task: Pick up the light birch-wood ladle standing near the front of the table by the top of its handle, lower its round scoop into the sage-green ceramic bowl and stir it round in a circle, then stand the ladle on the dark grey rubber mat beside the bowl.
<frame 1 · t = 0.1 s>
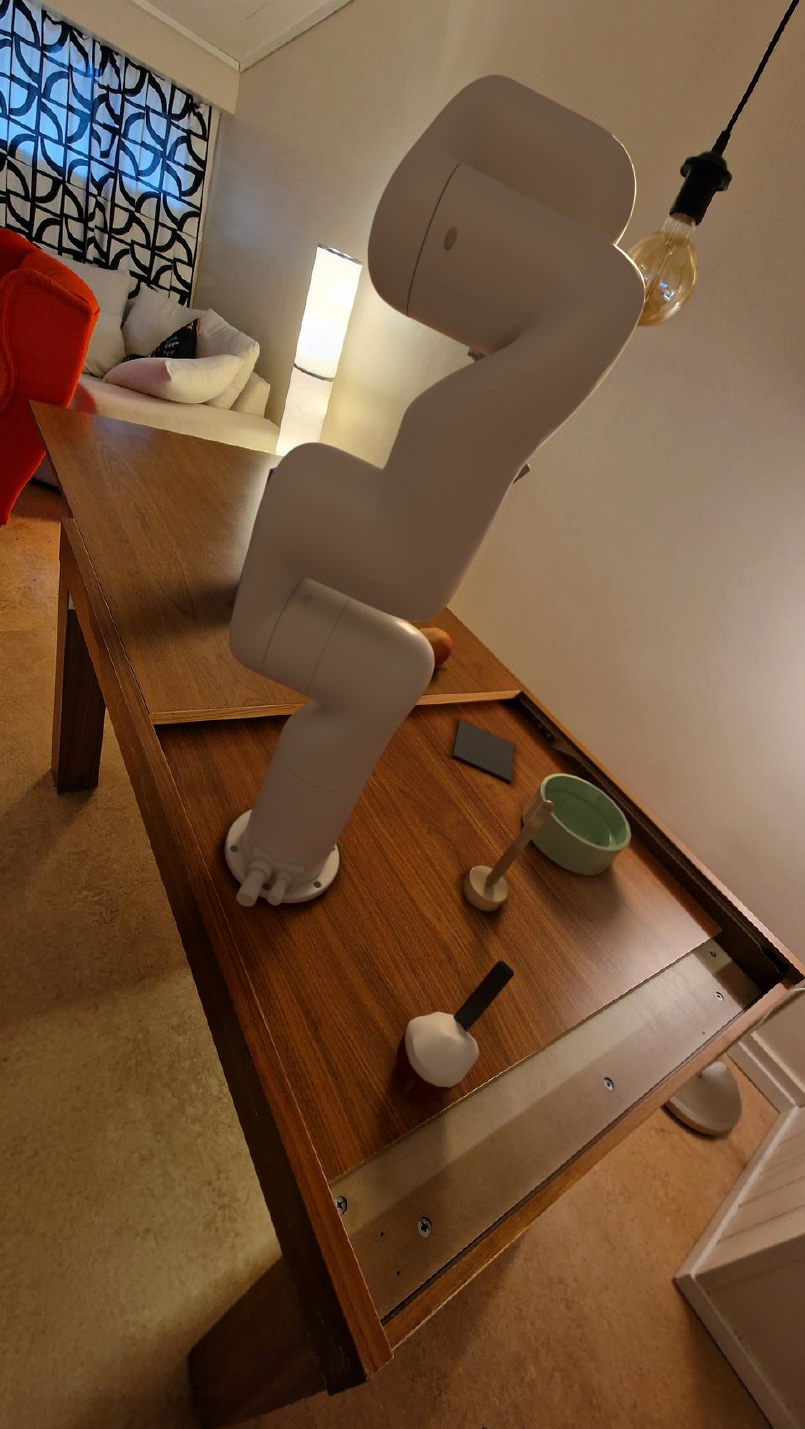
hand: (448, 497, 89), 31 cm above the table, tool pointing down, fingers open, 9 cm apart
cereal box: (269, 597, 112), on the table
mat: (483, 751, 100), on the table
fruit: (422, 662, 115), on the table
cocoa: (422, 1068, 57), on the table
bowl: (563, 836, 91), on the table
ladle: (481, 892, 76), on the table
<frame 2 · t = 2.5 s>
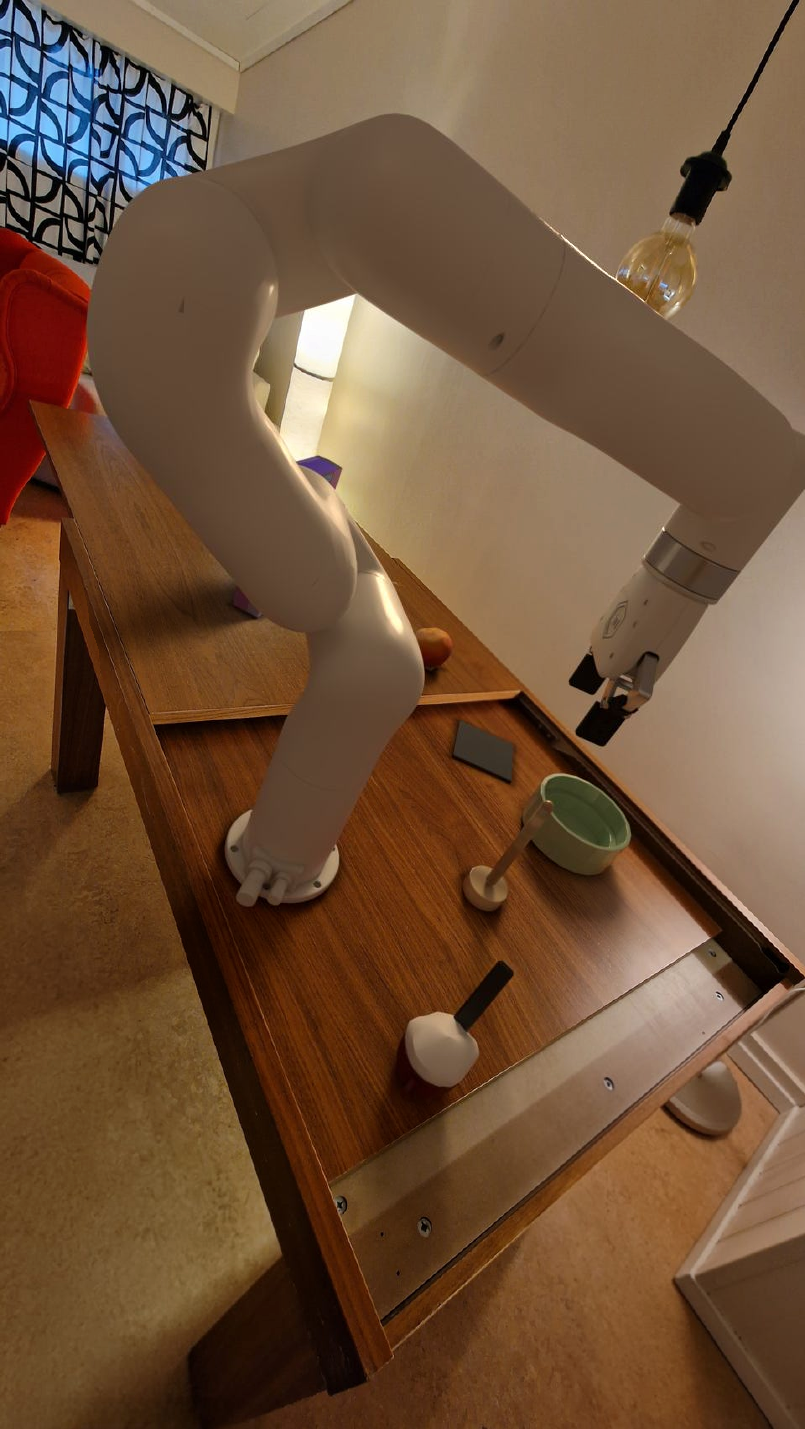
hand: (584, 712, 64), 27 cm above the table, tool pointing down, fingers open, 9 cm apart
nothing on the table moved.
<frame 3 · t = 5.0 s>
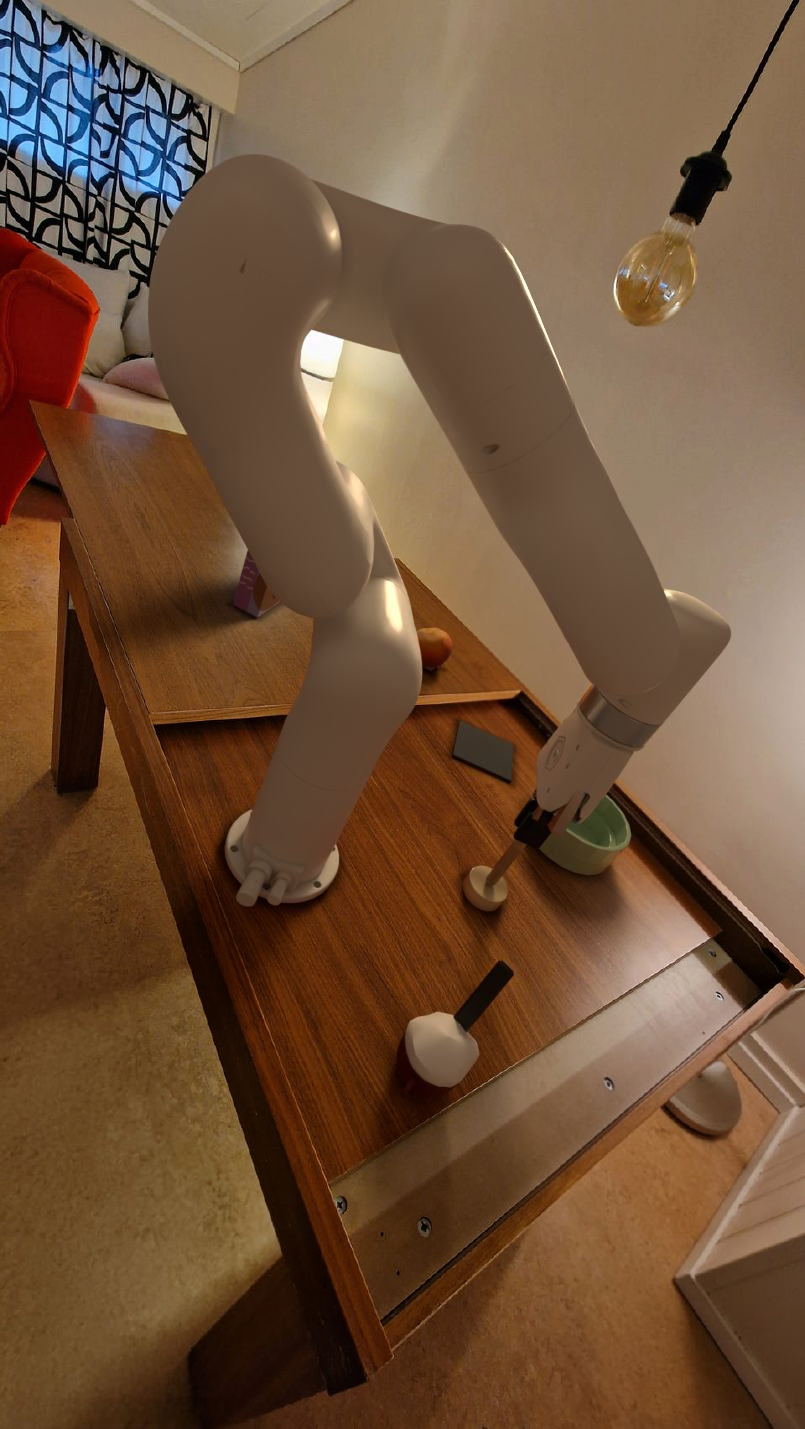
hand: (525, 834, 70), 11 cm above the table, tool pointing down, fingers closed on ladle
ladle: (481, 892, 76), on the table, touching gripper
everything else where it was.
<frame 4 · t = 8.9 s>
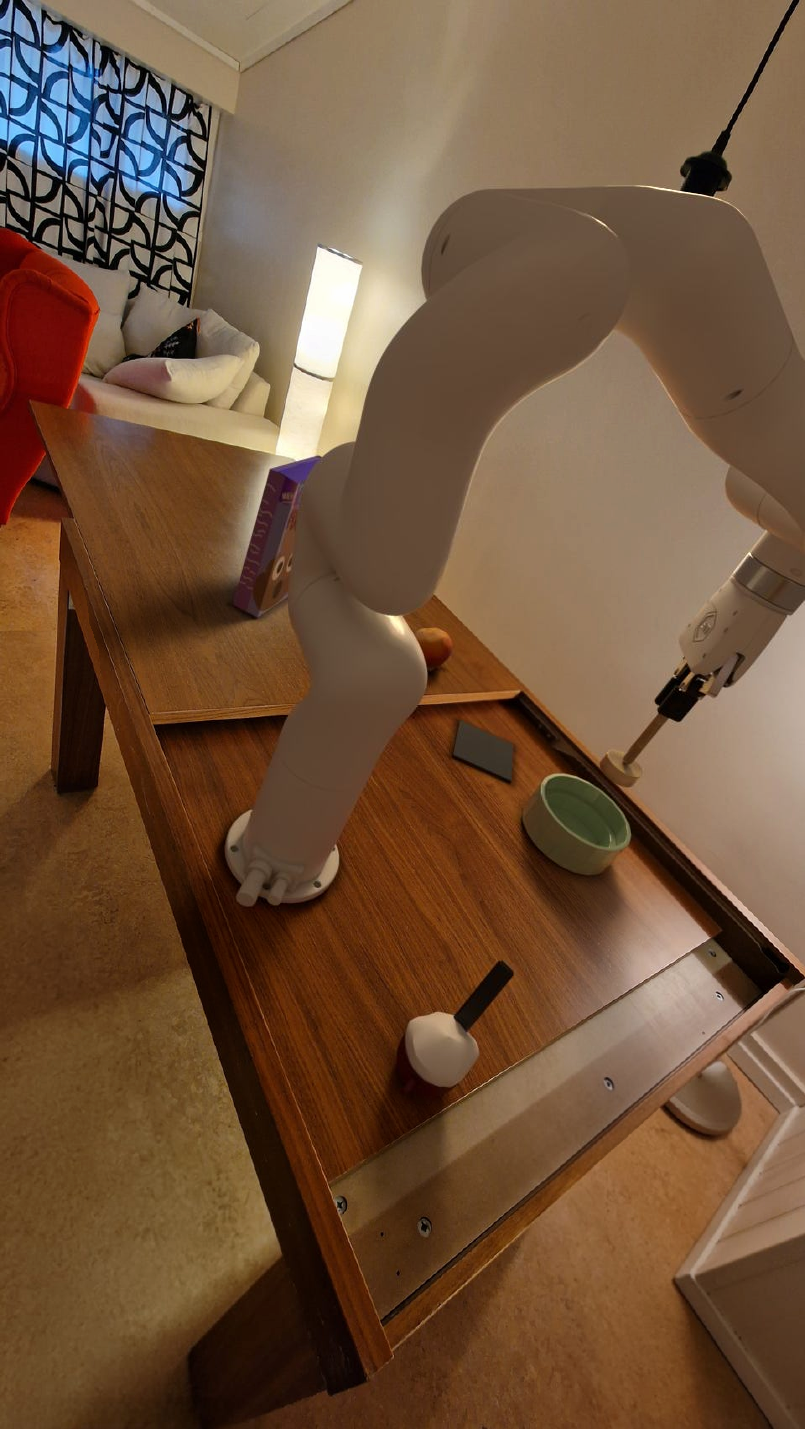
hand: (666, 711, 77), 25 cm above the table, tool pointing down, fingers closed on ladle
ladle: (616, 773, 84), point 14 cm above the table, touching gripper
everything else where it was.
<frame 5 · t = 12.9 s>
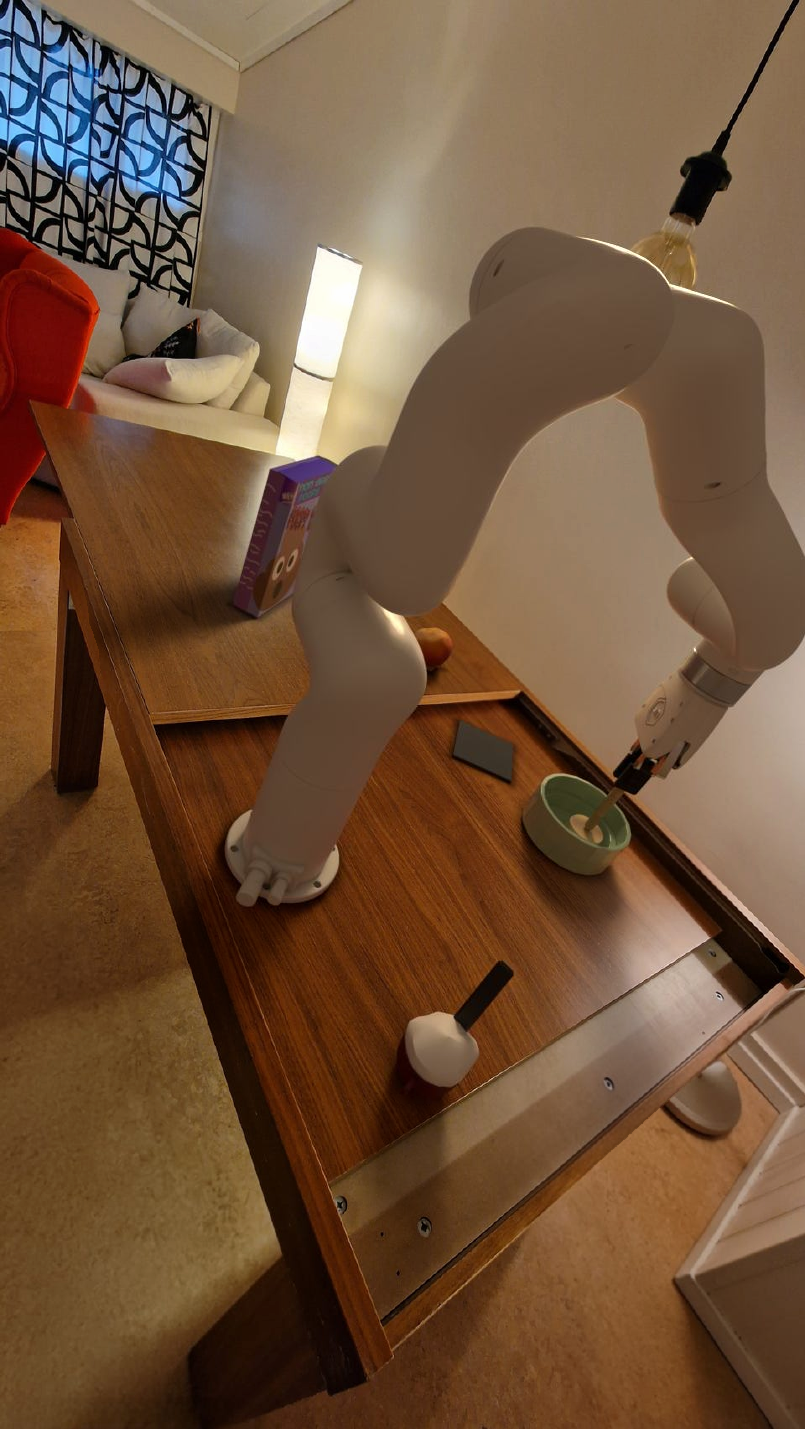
hand: (623, 784, 83), 13 cm above the table, tool pointing down, fingers closed on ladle
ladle: (579, 837, 89), point 2 cm above the table, touching gripper
everything else where it was.
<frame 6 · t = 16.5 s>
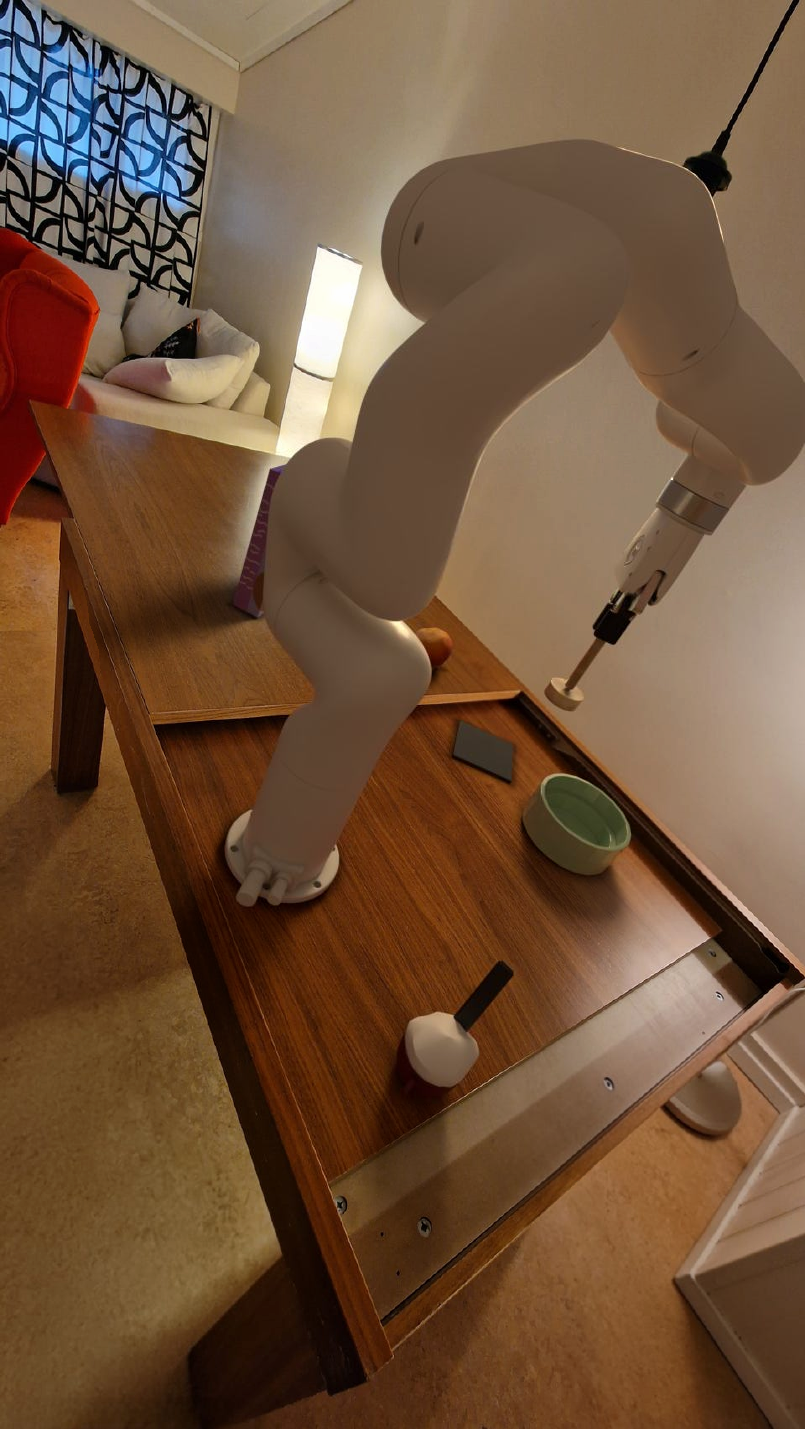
hand: (603, 635, 83), 27 cm above the table, tool pointing down, fingers closed on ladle
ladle: (560, 699, 89), point 16 cm above the table, touching gripper
everything else where it was.
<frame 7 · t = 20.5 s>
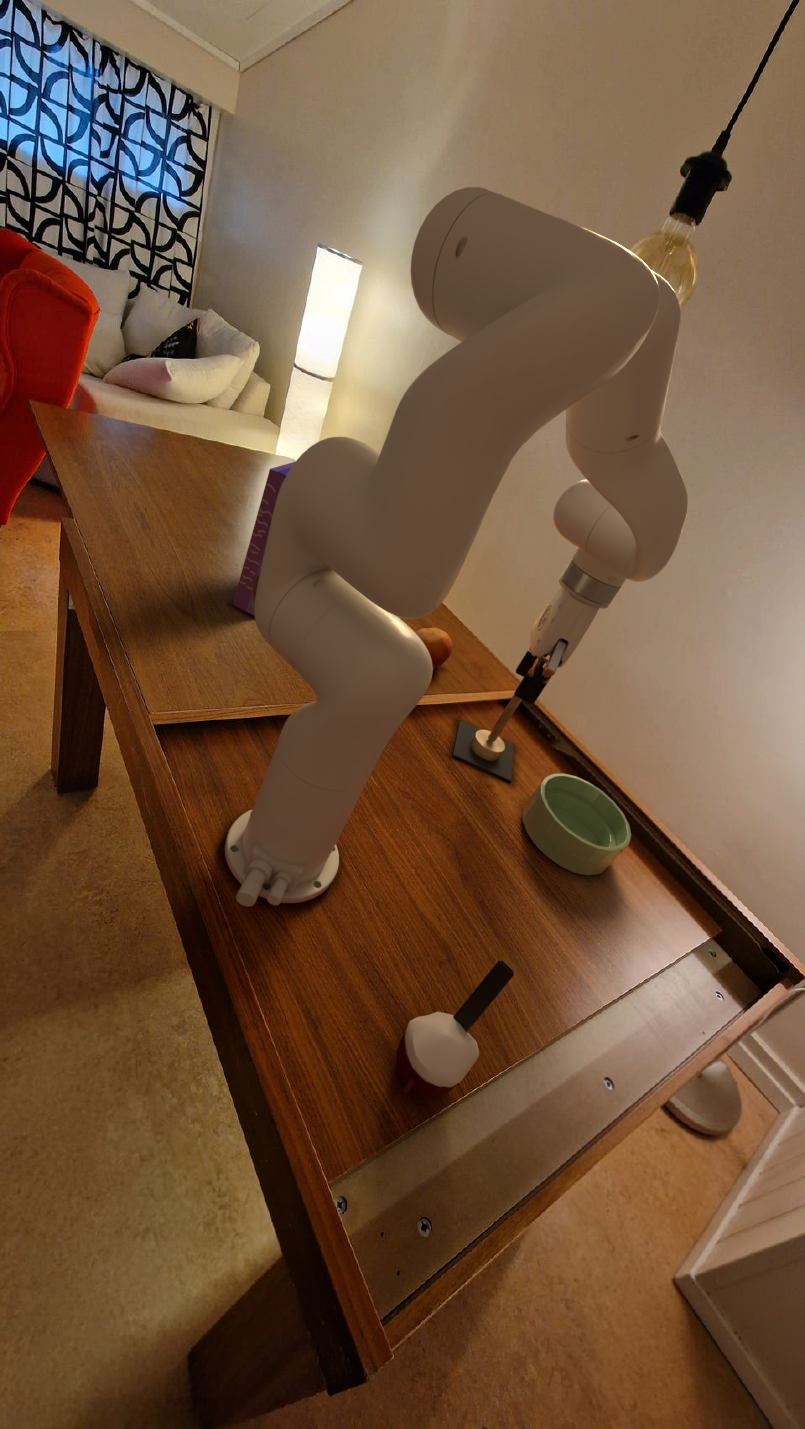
hand: (524, 686, 93), 14 cm above the table, tool pointing down, fingers open, 6 cm apart
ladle: (484, 749, 100), resting on mat
everything else where it was.
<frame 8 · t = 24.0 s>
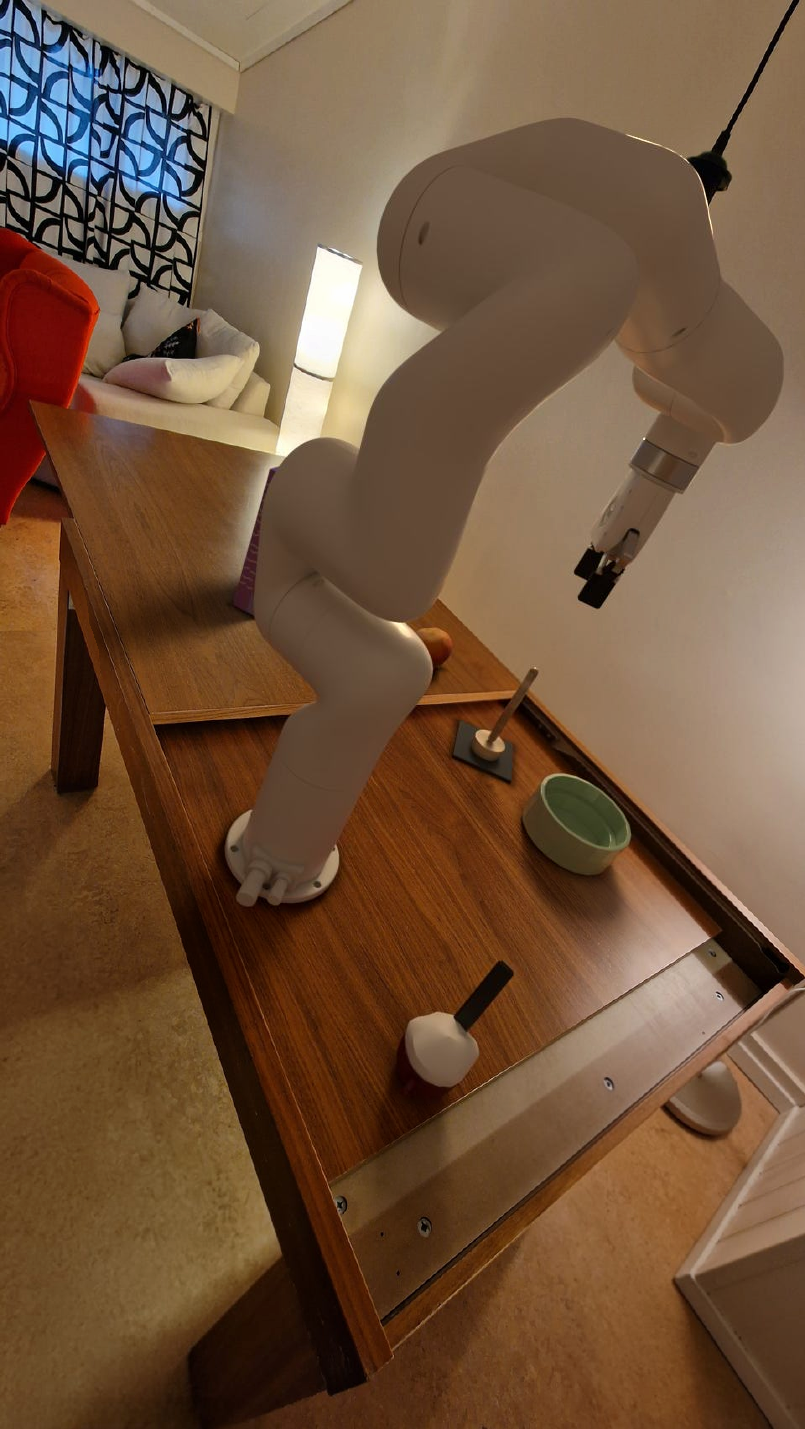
hand: (585, 590, 84), 30 cm above the table, tool pointing down, fingers open, 9 cm apart
nothing on the table moved.
at the end: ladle 0.1 cm off-centre on the mat, point 0.4 cm above the mat's base; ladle tilted 0°; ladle moved 29.0 cm from its start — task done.
